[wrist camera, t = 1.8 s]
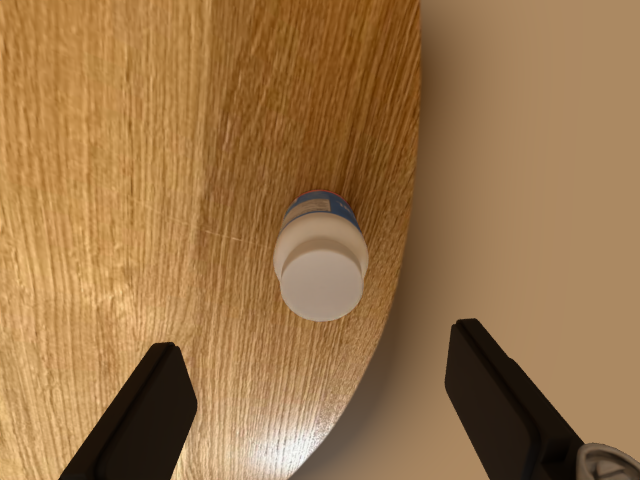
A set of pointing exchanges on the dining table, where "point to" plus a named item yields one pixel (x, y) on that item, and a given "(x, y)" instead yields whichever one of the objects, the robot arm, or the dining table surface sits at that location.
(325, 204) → the pill bottle
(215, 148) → the dining table surface
